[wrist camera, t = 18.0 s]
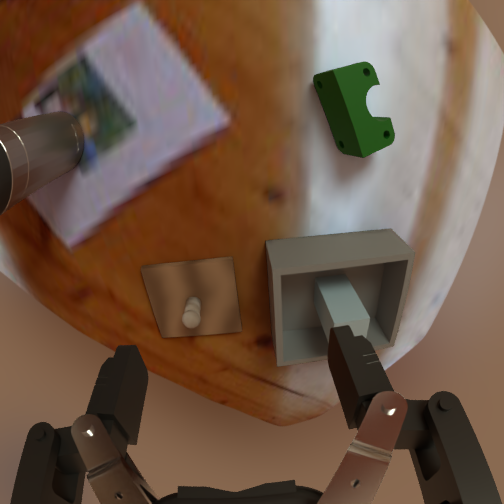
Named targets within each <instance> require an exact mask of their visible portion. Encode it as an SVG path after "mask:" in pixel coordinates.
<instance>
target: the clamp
mask: <svg viewBox="0 0 504 504" xmlns="http://www.w3.org/2000/svg"><path fill="white" fill-rule="evenodd" d="M363 73H364V74H363ZM313 82H314V86H315V88H316V91H317V93H318V96H319V98H320V101H321V104H322V106H323V109H324V112H325V114H326V117H327V120H328V123H329V125H330V128H331V131H332V134H333V137H334V140H335V142H336V145H337V147H338V149H339V150H340V151H341V152H342V153H343V154H346V155H352V156H357V157H362V158H364V157H366V156H368V155H370V154H372V153H374V152H376V151H379V150H381V149H383V148H385V147H387V146H389V145H391V144H392V143H393V141H394V138H395V133H394V129H393V126H392V122H391V119H390V118H388V117H372V116H371V114H370V113H369V111H368V109H367V106H366V95H367V92H368V90H369V89H370V88H371V87H372V86H374V85H380V84H379V81H378V78H377V75H376V72H375V69H374V67H373V66H372V65H371V64H370V63H368V62H360V63H355V64H352V65H348V66H345V67H341V68H337V69H333V70H329V71H326V72H323V73H319V74H316V75H314V77H313Z"/></svg>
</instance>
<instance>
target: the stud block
mask: <svg viewBox="0 0 504 504" xmlns="http://www.w3.org/2000/svg"><path fill="white" fill-rule="evenodd" d="M141 273H142V276H143V280H144V283H145V286H146V290H147V293H148V296H149V299H150V302H151V306H152V309H153V312H154V315H155V318H156V321H157V324H158V327H159V330H160V333H161V336H162V338H166V337H183V336H197V335H211V334H222V333H234V332H242V325H241V318H240V310H239V303H238V295H237V288H236V280H235V272H234V265H233V257H223V258H213V259H203V260H194V261H184V262H174V263H164V264H155V265H145V266H142V267H141Z"/></svg>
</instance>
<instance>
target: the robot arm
mask: <svg viewBox="0 0 504 504" xmlns="http://www.w3.org/2000/svg"><path fill="white" fill-rule="evenodd" d="M83 148H84V135H83V132H82V128H81V126H80V124H79V123H78V121H77V120H76V119H75V118H74V117H73V116H71V115H70V114H68V113H65V112H53V113H47V114H42V115H37V116H32V117H28V118H24V119H19V120H15V121H11V122H7V123H4V124H0V215H1V214H3V213H4V212H6V211H7V210H8V209H10V208H11V207H13V206H14V205H15V204H17V203H18V202H20V201H21V200H23V199H24V198H26V197H27V196H29V195H30V194H32V193H33V192H35V191H37V190H38V189H40V188H41V187H43V186H45V185H46V184H48V183H49V182H51V181H53V180H54V179H56V178H58V177H60V176H61V175H63V174H65V173H66V172H68V171H70V170H71V169H72V168H74V167H75V166H76V164H77V163H78V162H79V160H80V158H81V156H82V152H83ZM327 356H328V364H329V368H330V371H331V374H332V377H333V380H334V384H335V387H336V390H337V393H338V396H339V399H340V402H341V405H342V409H343V412H344V415H345V418H346V421H347V425H348V428H349V429H353V428H357V430H358V432H357V434H356V436H355V438H354V440H353V442H352V444H351V445H350V447H349V448H348V450H347V452H346V454H345V456H344V458H343V460H342V462H341V463H340V465H339V467H338V469H337V471H336V472H335V474H334V476H333V478H332V479H331V481H330V483H329V485H328V486H327V488H326V490H325V491H324V493H322V492H320V491H318V490H315V489H312V488H309V487H304V486H296V485H295V480H290V481H282V482H275V483H265V484H262V485H259V486H256V487H253V488H249V489H246V490H243V491H239V492H230V491H225V490H219V489H214V488H210V487H188V486H178V493H173V494H170V495H167V496H165V497H163V498H161V499H160V498H159V497H158V495H157V494H156V493H155V492H154V491H153V489H152V488H151V487H150V486H149V484H148V483H147V482H146V480H145V479H144V477H143V476H142V475H141V473H140V471H139V470H138V469H137V467H136V466H135V464H134V462H133V461H132V459H131V458H130V456H129V455H128V453H127V452H126V451H127V445H128V444H130V445H136V444H137V438H138V433H139V428H140V422H141V416H142V410H143V406H144V400H145V395H146V390H147V385H148V372H147V368H146V366H145V364H144V362H143V359H142V357H141V355H140V352H139V350H138V348H137V346H136V345H120V346H118V347H117V349H116V352H115V355H114V358H108V359H107V360H106V361H105V362H104V364H103V365H102V366H101V369H100V372H99V375H98V378H97V380H96V383H95V384H96V385H95V386H94V389H93V392H92V395H91V399H90V402H89V405H88V408H87V411H86V414H85V415H82V416H80V417H78V418H77V419H76V420H75V421H74V423H73V425H72V426H70V427H64V428H58V429H54V428H53V427H52V426H51V425H50V424H49V423H46V422H40V423H37V424H35V425H34V426H33V427H32V428H31V429H30V430H29V433H28V435H27V439H26V442H25V445H24V449H23V452H22V456H21V460H20V464H19V467H18V472H17V476H16V480H15V484H14V489H13V493H12V498H11V503H10V504H81V502H82V494H83V486H84V479H85V472H89V474H88V475H87V479H88V481H89V483H90V485H91V487H92V489H93V491H94V493H95V495H96V496H97V498H98V500H99V502H100V504H371V503H372V501H373V499H374V497H375V495H376V492H377V490H378V488H379V486H380V484H381V482H382V479H383V477H384V475H385V473H386V470H387V468H388V466H389V463H390V460H391V457H392V456H391V454H392V451H393V449H409V451H410V454H411V458H412V461H413V464H414V467H415V471H416V474H417V477H418V481H419V484H420V488H421V491H422V495H423V499H424V502H425V504H502V502H501V499H500V496H499V493H498V490H497V487H496V485H495V482H494V479H493V476H492V474H491V471H490V469H489V466H488V464H487V461H486V459H485V456H484V454H483V451H482V449H481V446H480V444H479V442H478V440H477V437H476V435H475V433H474V431H473V428H472V426H471V424H470V422H469V419H468V417H467V415H466V413H465V411H464V409H463V407H462V405H461V403H460V401H459V399H458V398H457V397H456V396H455V395H454V394H452V393H450V392H446V391H441V392H437V393H435V394H434V395H433V396H431V398H430V400H408V399H405V398H404V397H403V396H402V395H401V394H399V393H397V392H395V391H394V390H393V388H392V386H391V384H390V382H389V379H388V377H387V375H386V373H385V371H384V369H383V367H382V365H381V362H379V358H378V356H377V354H376V353H375V350H374V348H373V346H372V344H371V342H369V341H368V340H367V339H366V338H365V337H364V336H363V335H360V336H354V334H353V332H352V330H351V328H350V326H349V325H345V326H339V327H332V328H331V329H330V334H329V344H328V354H327Z"/></svg>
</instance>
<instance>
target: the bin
mask: <svg viewBox="0 0 504 504" xmlns="http://www.w3.org/2000/svg"><path fill="white" fill-rule="evenodd" d="M266 256H267V271H268V286H269V301H270V318H271V333H272V339H273V345H274V351H275V357H276V363H277V367H278V366H286V365H294V364H301V363H308V362H314V361H320V360H327V359H328V356H327V354H328V344H329V343H328V341H327V338H326V335H325V332H324V330H323V327H322V324H321V321H320V319H319V316H318V313H317V310H316V308H315V305H314V289H315V278H316V277H324V276H333V275H342V274H346V276H347V278H348V279H349V281H350V283H351V285H352V286H353V288H354V290H355V292H356V293H357V295H358V297H359V299H360V300H361V302H362V304H363V306H364V308H365V309H366V311H367V313H368V315H369V317H370V322H369V327H368V331H367V336H366V339H367V340H368V341H369V342H371V344H372V346H373V348H374V350H379V349H384V348H388V347H393V346H394V343H395V340H396V336H397V333H398V329H399V325H400V321H401V317H402V313H403V309H404V305H405V301H406V296H407V292H408V287H409V283H410V278H411V273H412V268H413V262H414V257H415V252H414V251H413V250H412V249H411V248H410V247H409V246H408V245H407V244H406V243H405V242H404V241H403V240H402V239H401V238H400V237H399V236H398V235H397V234H396V233H395V232H394V231H393V230H392V229H381V230H370V231H360V232H349V233H339V234H329V235H318V236H308V237H298V238H288V239H278V240H268V241H266Z"/></svg>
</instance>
